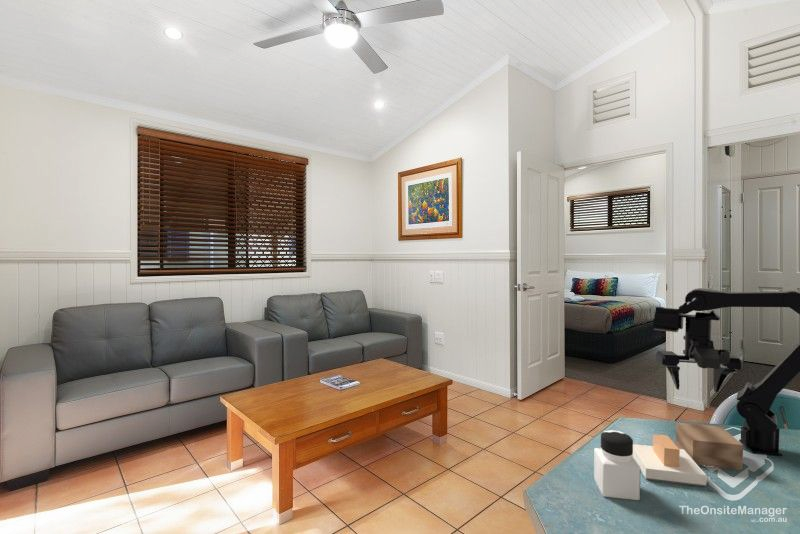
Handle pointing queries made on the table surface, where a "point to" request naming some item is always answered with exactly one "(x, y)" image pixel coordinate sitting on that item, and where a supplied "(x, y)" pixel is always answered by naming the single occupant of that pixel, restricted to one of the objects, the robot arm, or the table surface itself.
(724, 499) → the table surface
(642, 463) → the lid
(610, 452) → the medicine bottle
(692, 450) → the walnut box
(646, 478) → the rubber mat
